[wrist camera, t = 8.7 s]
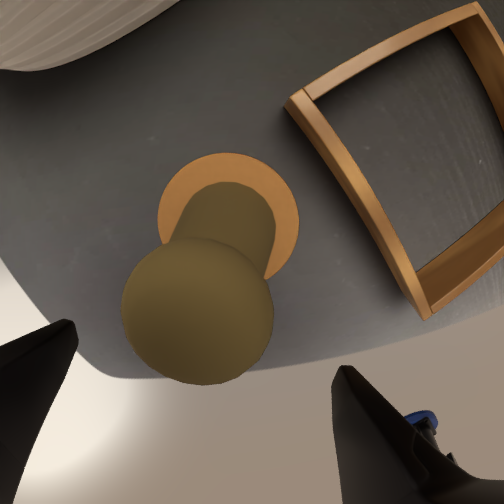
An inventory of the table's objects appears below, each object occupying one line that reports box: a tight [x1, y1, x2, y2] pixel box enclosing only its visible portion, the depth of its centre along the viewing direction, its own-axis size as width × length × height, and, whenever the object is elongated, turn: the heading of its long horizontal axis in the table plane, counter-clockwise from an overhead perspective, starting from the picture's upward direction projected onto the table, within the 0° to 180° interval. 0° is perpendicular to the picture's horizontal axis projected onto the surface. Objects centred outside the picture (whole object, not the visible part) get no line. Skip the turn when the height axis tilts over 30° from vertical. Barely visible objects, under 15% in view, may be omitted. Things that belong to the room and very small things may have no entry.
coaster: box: [158, 153, 299, 280], centre depth 18 cm, size 9×9×1 cm
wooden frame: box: [284, 1, 504, 321], centre depth 14 cm, size 16×16×4 cm
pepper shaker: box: [120, 182, 276, 385], centre depth 13 cm, size 6×6×11 cm
